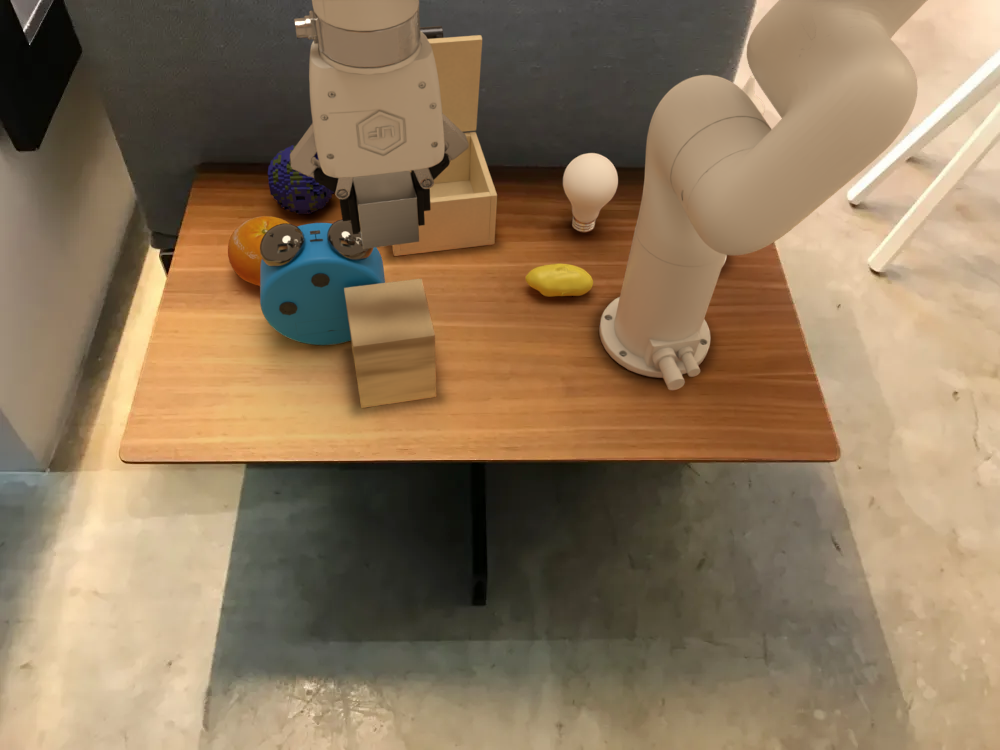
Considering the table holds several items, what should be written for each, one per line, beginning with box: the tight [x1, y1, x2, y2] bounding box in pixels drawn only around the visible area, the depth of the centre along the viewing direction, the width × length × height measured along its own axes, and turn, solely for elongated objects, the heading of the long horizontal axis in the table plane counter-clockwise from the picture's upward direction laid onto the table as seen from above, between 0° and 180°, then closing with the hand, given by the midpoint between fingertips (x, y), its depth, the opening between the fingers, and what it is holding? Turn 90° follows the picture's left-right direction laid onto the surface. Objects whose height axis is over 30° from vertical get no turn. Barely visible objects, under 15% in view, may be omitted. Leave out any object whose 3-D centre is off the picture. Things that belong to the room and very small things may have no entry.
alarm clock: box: [259, 219, 386, 346], centre depth 91 cm, size 13×6×15 cm, turn 100°
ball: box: [267, 144, 335, 215], centre depth 107 cm, size 8×8×8 cm
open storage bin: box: [391, 131, 498, 257], centre depth 106 cm, size 13×13×8 cm
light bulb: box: [562, 152, 619, 233], centre depth 105 cm, size 7×7×11 cm
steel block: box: [353, 171, 419, 249], centre depth 75 cm, size 5×5×5 cm
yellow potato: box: [524, 262, 594, 298], centre depth 100 cm, size 4×8×4 cm, turn 85°
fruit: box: [227, 215, 291, 287], centre depth 99 cm, size 8×9×8 cm
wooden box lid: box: [420, 25, 483, 133], centre depth 102 cm, size 13×13×5 cm
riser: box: [344, 277, 437, 409], centre depth 89 cm, size 8×8×10 cm
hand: (386, 217), depth 76 cm, fingers closed on steel block, 5 cm apart
